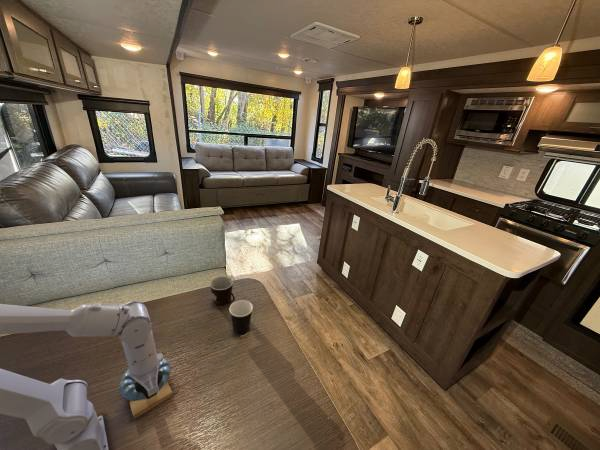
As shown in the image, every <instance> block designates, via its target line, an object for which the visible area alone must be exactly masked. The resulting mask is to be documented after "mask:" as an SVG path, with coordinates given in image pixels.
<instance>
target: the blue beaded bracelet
mask: <svg viewBox="0 0 600 450" xmlns="http://www.w3.org/2000/svg"><path fill="white" fill-rule="evenodd" d="M160 370H161V371H162V374H163V379H162V380H161V381H160V383H159V386H158V388H159V391H160V389H161V388H162V387H163V386H164V385H165V383H166V382H167V381H168V380H169V379H170V373H171V366H170V364H169V362H168V360H167V359H166V358H164V359H163V360H162V361H161V362H160V363H159V369H158V371H160ZM134 383H135V380H134V379H133V378H132V377H131V376H130V375H129V368H127V370H126V371H124V373H123V375H122V377H121V379H120V381H119V384H118V389H119V393H120V395H121V397H122V398H124V399H126V400H128V401H129V400H130V401H138V400H144V399H147V398H146V397H145V396H144V394H143V393H138V392H137V391H136V390H135V387H134Z"/></svg>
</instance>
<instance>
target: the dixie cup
mask: <svg viewBox="0 0 600 450" xmlns="http://www.w3.org/2000/svg"><path fill="white" fill-rule="evenodd" d="M253 310H254V305H253V303H252V302H251V301H249V300H245V299H240V300H235V301H233V302H231V303H230V306H229V308H228V311H229V314H230V319H231V323H232V329H233V330H232V331H233V333H234V334H236V335H238V336H239V338H243V337H245V336H247V335H248V334H249V331H250V326H251V319H252V313H253Z"/></svg>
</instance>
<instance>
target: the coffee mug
mask: <svg viewBox="0 0 600 450" xmlns="http://www.w3.org/2000/svg"><path fill="white" fill-rule="evenodd" d="M209 285H210V286H209V287H210V291H211V296H212V301H213V303H214V305H216V306H217V307H218V306H219V307H224V306H227V305H228V304H229V305H231V304H232V303H234V302H235V301H236V298H235V295H234V293H233V285H234V280H233V279H232V278H231V277H229V276H226V275H225V276H223V275H222V276H217V277H215V278H212V280H210V283H209Z"/></svg>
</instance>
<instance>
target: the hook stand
mask: <svg viewBox="0 0 600 450" xmlns="http://www.w3.org/2000/svg"><path fill="white" fill-rule="evenodd" d="M172 396H173V391H172V387H171V386H170V384H169V382H168V381H167V382H166V383H165V385H164V386H163V387H162V388H161V389H160V391H158V392H157V394H156V395H155V396H153V397H151V398H150V399H144V400H138V401H130V400H128V402H129V406H130V410H131V414H132V417H133V419H134V420H135V419H136V418H138V417H140V416H141V415H143V414H144V413H146V412H148V411H149V410H151V409H152V408H154V407H156V406H157V405H159V404H161V403H163V402H164V401H165V400H167V399H169V398H170V397H172Z"/></svg>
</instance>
